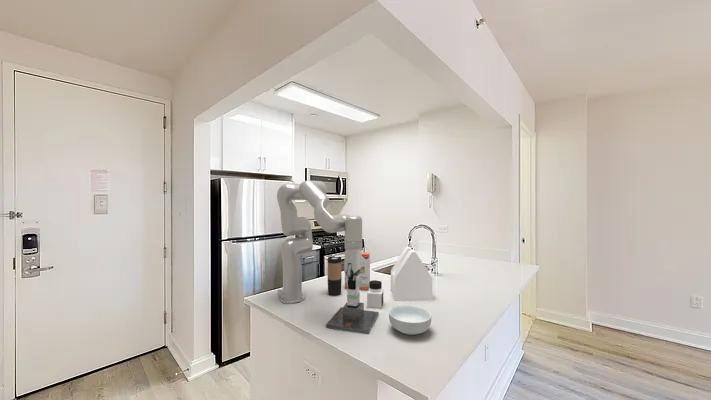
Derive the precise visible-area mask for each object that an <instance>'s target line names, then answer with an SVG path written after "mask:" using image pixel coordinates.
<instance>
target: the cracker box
mask: <svg viewBox="0 0 711 400" xmlns="http://www.w3.org/2000/svg"><path fill="white" fill-rule="evenodd" d="M359 270H361V273H360V291H368V290H369V282H370V281H371V252H365V251H361V268H360V269H359ZM344 290H347V275H346V273H345V272H344Z"/></svg>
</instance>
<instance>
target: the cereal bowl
mask: <svg viewBox="0 0 711 400" xmlns="http://www.w3.org/2000/svg"><path fill="white" fill-rule="evenodd" d="M388 311H389V312H388V318H389V319H388V320H389V322H390V324H391V326H392V327H393V328H394V329H395V330H397V331H399V332H401V333H402V334H405V335H409V336H415V335H418V334H422V333H425V332H426V331H428V330H429V328H430V326H431V323H432V319H433V318H432V314H431V312H430V311H429V310H428V309H425V308H423V307H420V306H416V305H410V304H405V305H404V304H402V305H396V306H394V307H391V308H389V310H388Z"/></svg>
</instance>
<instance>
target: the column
mask: <svg viewBox="0 0 711 400" xmlns="http://www.w3.org/2000/svg"><path fill="white" fill-rule="evenodd" d="M351 272H352V273H353V271H351ZM360 273H361V270H358V271H357V272H356V273H355V284H356V289H355V290H351V289H348V276H347V289H346V290H347V291H346V293H347V294H346V298H347V299H346V300H347V301H346V303H347V305H349V306H358V304H359V303H361V302H360V297H361V294H360V293H361V292H360V291H361V290H360ZM346 275H347V272H346ZM351 275H352V276H353V274H351Z"/></svg>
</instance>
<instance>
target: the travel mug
mask: <svg viewBox="0 0 711 400" xmlns="http://www.w3.org/2000/svg"><path fill="white" fill-rule="evenodd" d="M342 273H343V272H342V256H335V255H331V256H328V257H327V295H328V296H331V297H338V296H341V295H342V282H343V281H342V280H343V279H342V277H343V276H342V275H343V274H342Z"/></svg>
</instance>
